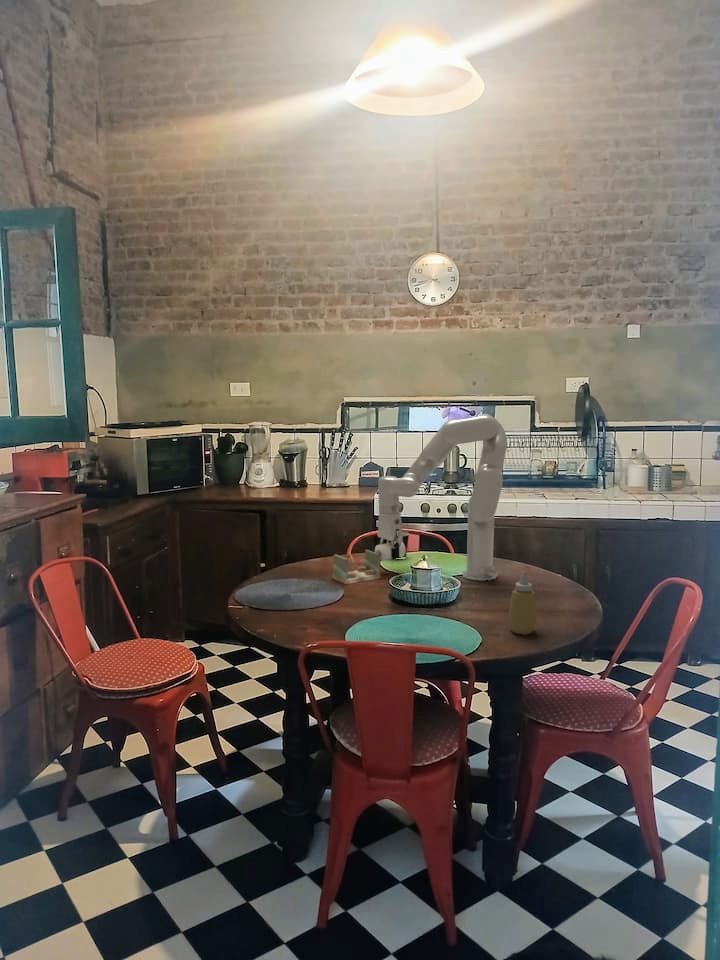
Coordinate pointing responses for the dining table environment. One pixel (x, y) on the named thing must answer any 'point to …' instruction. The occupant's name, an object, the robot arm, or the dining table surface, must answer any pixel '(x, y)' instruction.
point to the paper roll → (388, 551)
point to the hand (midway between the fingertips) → (390, 556)
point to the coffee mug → (405, 541)
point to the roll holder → (362, 572)
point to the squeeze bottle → (523, 607)
